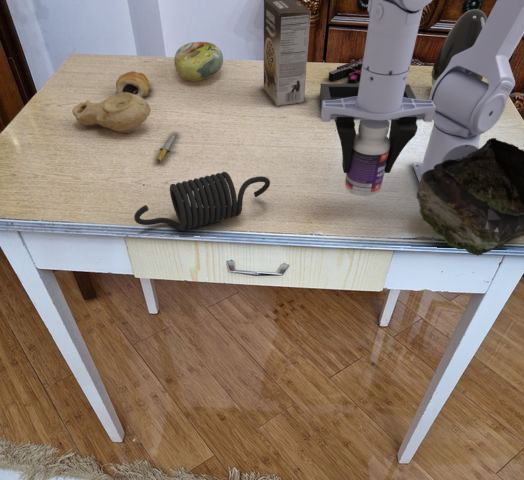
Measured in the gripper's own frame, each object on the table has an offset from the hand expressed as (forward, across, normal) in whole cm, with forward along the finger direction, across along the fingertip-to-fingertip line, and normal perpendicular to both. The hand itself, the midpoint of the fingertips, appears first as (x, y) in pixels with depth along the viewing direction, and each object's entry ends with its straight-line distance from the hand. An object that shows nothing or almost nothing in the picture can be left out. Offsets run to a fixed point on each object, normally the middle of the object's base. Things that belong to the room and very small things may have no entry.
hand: (366, 169), depth 67 cm
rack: (+7, -6, -36) cm, 37 cm away
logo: (+6, -4, -54) cm, 55 cm away
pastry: (+7, +42, -42) cm, 60 cm away
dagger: (+6, +34, -19) cm, 39 cm away
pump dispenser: (+7, -26, -42) cm, 49 cm away
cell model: (+6, +28, -46) cm, 54 cm away
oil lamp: (+7, +43, -27) cm, 51 cm away
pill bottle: (+3, 0, 0) cm, 3 cm away
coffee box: (+7, +10, -41) cm, 43 cm away
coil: (+3, +24, -2) cm, 24 cm away
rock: (-3, -17, +7) cm, 19 cm away
